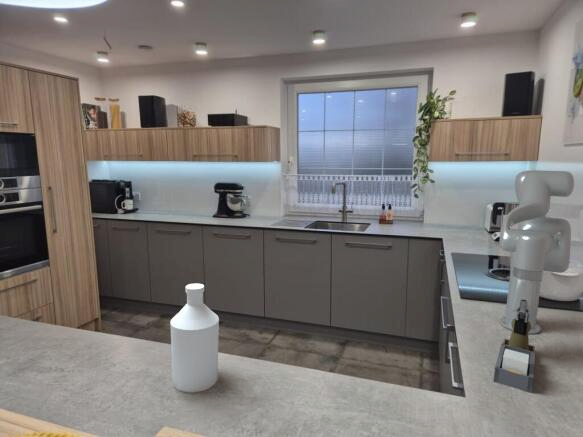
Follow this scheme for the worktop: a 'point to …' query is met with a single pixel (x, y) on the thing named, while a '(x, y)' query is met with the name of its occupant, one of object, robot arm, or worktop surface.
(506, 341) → the wooden square frame
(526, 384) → the grey divided tray
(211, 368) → the bottle
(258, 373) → the worktop surface
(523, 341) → the cork
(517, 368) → the white block
